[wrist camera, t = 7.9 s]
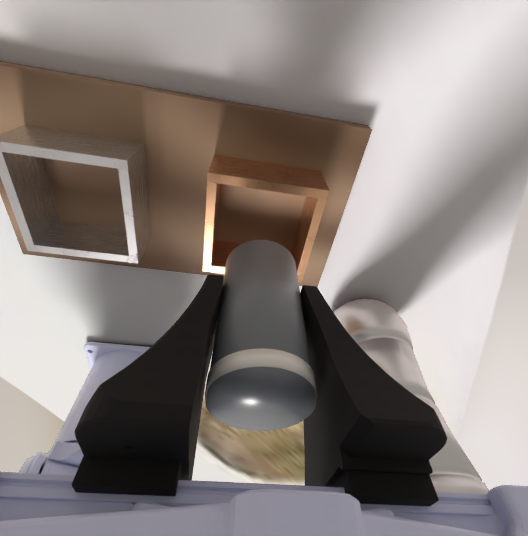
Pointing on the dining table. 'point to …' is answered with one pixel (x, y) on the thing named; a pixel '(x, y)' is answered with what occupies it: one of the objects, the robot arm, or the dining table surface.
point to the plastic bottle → (407, 383)
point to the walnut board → (182, 163)
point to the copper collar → (269, 180)
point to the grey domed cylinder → (260, 343)
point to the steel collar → (42, 201)
